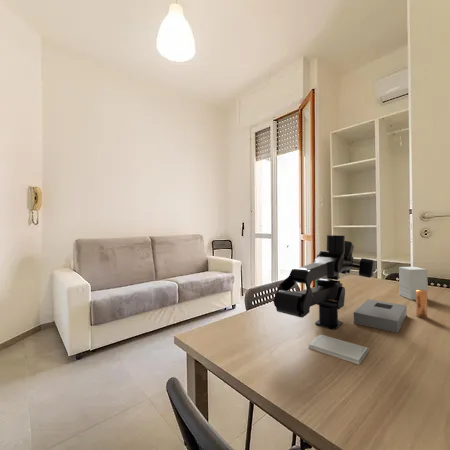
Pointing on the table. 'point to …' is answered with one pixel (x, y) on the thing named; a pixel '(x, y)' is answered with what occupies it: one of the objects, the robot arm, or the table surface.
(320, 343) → the hard drive
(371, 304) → the grey block with hole
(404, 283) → the supplement box
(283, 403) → the table surface
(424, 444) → the table surface
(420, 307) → the pin
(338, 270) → the robot arm
